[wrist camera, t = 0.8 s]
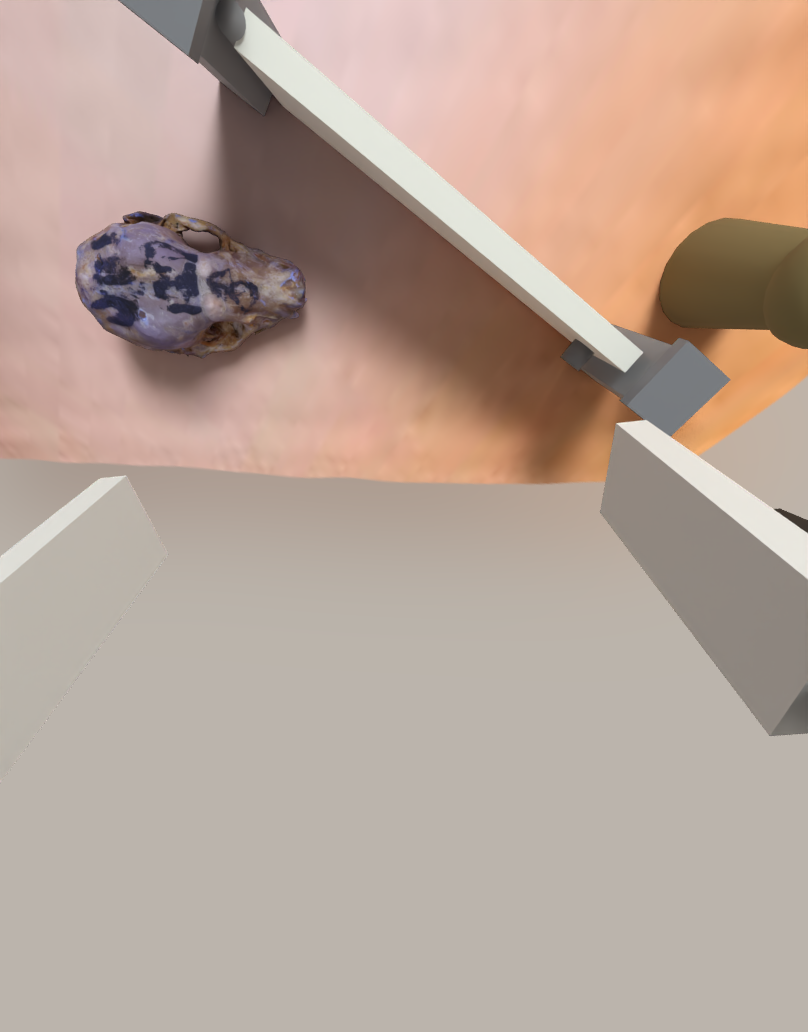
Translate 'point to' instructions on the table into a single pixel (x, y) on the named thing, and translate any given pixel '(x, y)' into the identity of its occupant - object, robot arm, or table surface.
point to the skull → (182, 286)
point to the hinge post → (207, 41)
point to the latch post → (661, 380)
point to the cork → (740, 279)
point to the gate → (420, 188)
